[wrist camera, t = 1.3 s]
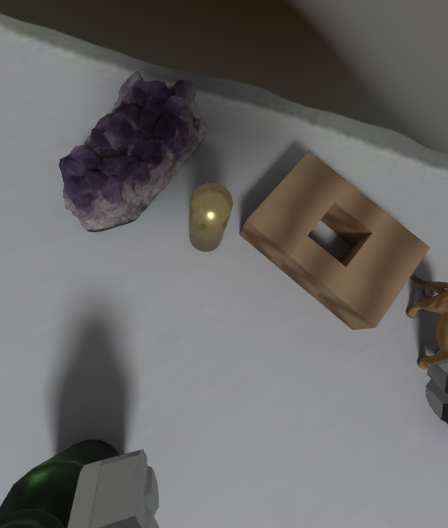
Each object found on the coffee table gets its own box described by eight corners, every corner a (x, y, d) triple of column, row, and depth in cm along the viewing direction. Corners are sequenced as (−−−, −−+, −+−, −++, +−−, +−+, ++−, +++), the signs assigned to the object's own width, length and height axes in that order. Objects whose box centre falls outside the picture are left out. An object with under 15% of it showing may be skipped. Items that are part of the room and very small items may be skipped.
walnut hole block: (239, 234, 42) (246, 219, 37) (295, 172, 45) (309, 150, 40) (352, 329, 40) (375, 327, 35) (403, 258, 43) (430, 247, 39)
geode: (136, 261, 40) (105, 229, 30) (60, 216, 42) (8, 173, 32) (222, 133, 44) (219, 71, 35) (150, 99, 46) (128, 30, 36)
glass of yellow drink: (182, 237, 41) (181, 202, 31) (204, 214, 42) (209, 174, 32) (207, 258, 40) (214, 230, 31) (228, 235, 42) (241, 201, 32)
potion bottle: (66, 420, 35) (-54, 495, 17) (142, 441, 35) (99, 535, 18) (33, 508, 32) (-142, 694, 15) (114, 530, 33) (34, 736, 15)
